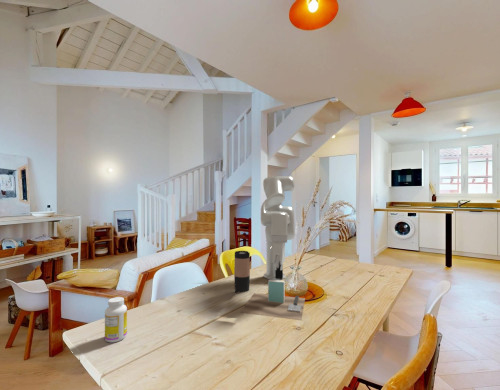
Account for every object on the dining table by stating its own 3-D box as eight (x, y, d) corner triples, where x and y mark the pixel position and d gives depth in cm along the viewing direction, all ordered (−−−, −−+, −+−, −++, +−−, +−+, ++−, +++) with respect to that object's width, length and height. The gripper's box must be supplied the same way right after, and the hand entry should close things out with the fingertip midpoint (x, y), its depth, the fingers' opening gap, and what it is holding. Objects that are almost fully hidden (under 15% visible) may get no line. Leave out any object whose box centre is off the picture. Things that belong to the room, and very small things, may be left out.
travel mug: (231, 293, 129) (231, 252, 129) (239, 288, 135) (239, 250, 136) (244, 296, 125) (245, 254, 125) (252, 291, 132) (252, 251, 132)
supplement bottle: (121, 330, 92) (121, 294, 92) (130, 337, 88) (130, 298, 88) (101, 338, 87) (101, 299, 87) (109, 345, 83) (110, 305, 83)
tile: (269, 299, 117) (269, 279, 117) (284, 301, 116) (284, 280, 116) (268, 301, 115) (268, 280, 115) (283, 303, 113) (284, 282, 114)
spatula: (291, 297, 120) (291, 295, 120) (302, 298, 119) (302, 296, 119) (287, 310, 106) (287, 308, 106) (300, 312, 104) (300, 309, 104)
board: (254, 296, 125) (254, 292, 125) (305, 301, 119) (305, 298, 119) (240, 316, 104) (240, 312, 104) (301, 324, 98) (301, 320, 98)
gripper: (274, 236, 131) (274, 273, 130) (268, 240, 116) (267, 282, 115) (289, 237, 129) (289, 275, 128) (284, 241, 114) (284, 283, 113)
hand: (279, 278), depth 122 cm, fingers closed
